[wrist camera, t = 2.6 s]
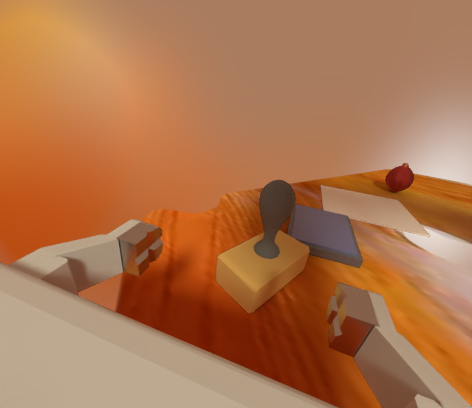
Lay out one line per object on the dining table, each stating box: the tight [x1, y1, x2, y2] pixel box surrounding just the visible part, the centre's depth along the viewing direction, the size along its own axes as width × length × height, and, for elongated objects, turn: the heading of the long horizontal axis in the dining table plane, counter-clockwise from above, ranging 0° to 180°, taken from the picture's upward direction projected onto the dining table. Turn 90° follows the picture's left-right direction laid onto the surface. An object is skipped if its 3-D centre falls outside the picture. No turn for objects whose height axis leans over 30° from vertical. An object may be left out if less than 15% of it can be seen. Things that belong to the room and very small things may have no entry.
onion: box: [385, 163, 414, 192], centre depth 56 cm, size 6×6×8 cm
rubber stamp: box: [216, 180, 310, 314], centre depth 23 cm, size 10×6×12 cm, turn 133°
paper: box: [320, 185, 430, 237], centre depth 47 cm, size 18×16×1 cm
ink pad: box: [287, 204, 363, 268], centre depth 35 cm, size 10×13×2 cm
